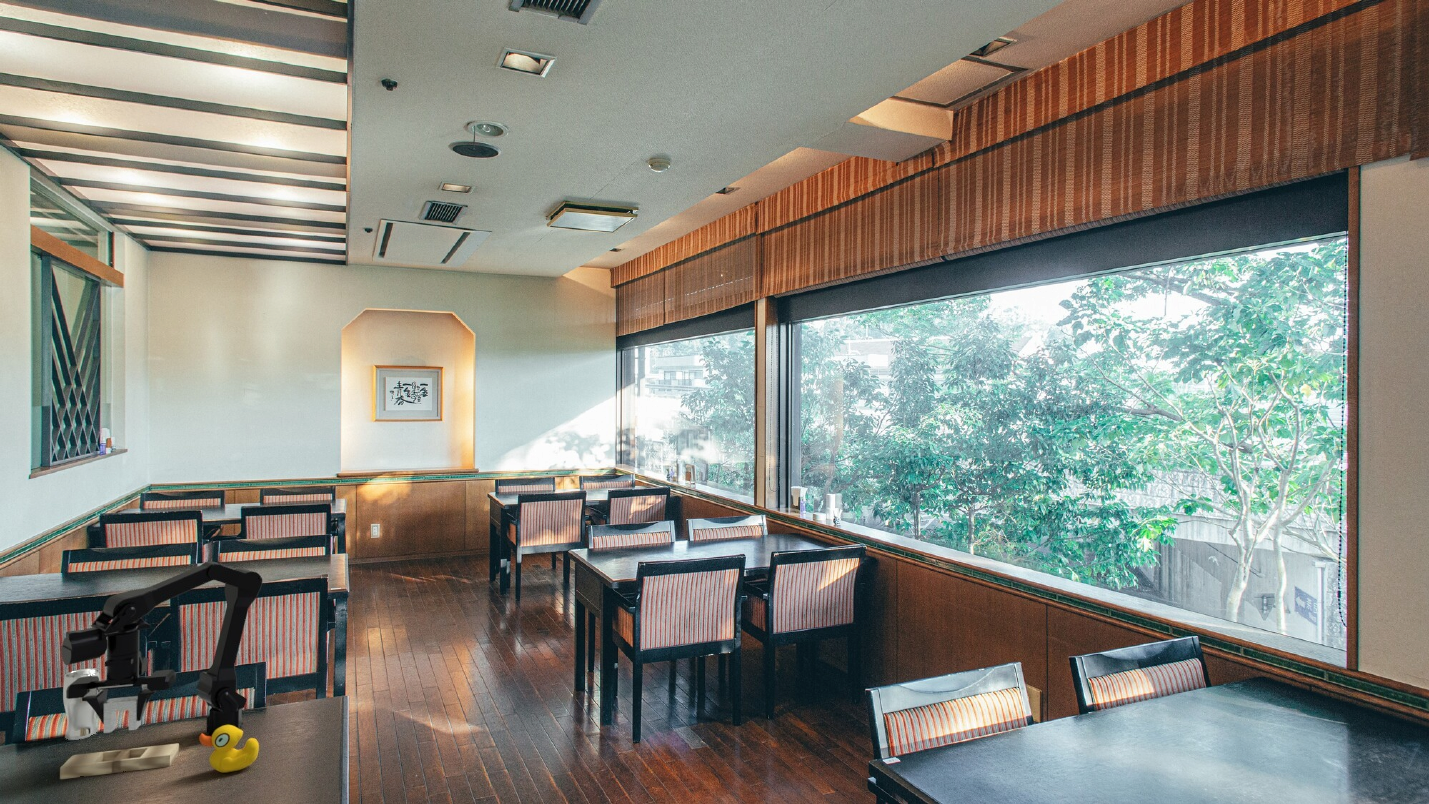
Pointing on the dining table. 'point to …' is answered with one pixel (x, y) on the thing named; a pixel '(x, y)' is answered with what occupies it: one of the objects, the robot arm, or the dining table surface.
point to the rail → (119, 761)
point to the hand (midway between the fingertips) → (122, 721)
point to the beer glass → (79, 708)
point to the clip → (120, 705)
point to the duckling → (230, 749)
